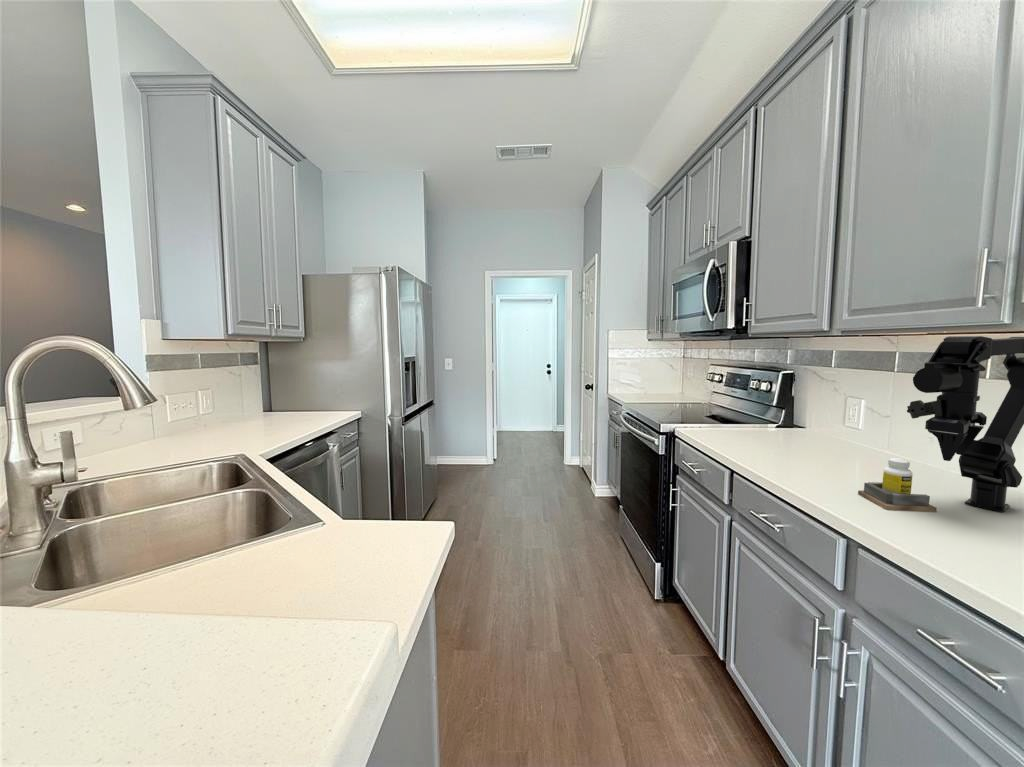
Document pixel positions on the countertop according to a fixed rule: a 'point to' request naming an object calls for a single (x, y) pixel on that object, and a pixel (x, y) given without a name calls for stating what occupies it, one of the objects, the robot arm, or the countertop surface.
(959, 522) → the countertop surface
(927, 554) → the countertop surface
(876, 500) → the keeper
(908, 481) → the supplement bottle
